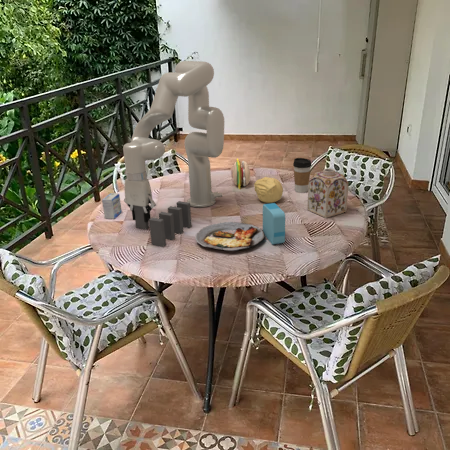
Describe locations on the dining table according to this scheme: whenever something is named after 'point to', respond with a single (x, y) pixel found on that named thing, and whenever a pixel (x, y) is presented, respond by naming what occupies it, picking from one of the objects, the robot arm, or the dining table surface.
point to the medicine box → (111, 206)
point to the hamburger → (241, 173)
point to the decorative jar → (327, 193)
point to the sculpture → (268, 189)
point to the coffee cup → (301, 174)
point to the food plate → (230, 236)
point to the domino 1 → (140, 218)
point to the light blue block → (274, 223)
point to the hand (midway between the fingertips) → (141, 219)
